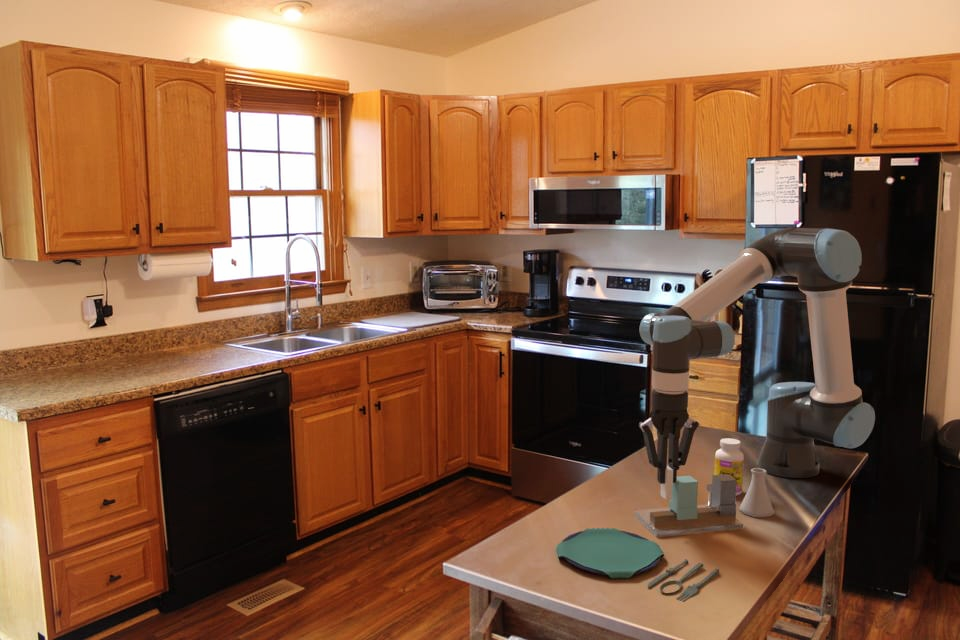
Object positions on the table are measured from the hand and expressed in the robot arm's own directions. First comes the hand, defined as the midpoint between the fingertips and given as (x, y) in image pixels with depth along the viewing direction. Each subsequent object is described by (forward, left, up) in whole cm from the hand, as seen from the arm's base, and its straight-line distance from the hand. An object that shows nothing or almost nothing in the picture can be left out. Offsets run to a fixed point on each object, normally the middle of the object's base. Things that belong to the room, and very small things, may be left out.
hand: (666, 497), depth 173 cm
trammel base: (-6, -2, -7) cm, 10 cm away
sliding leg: (-4, -2, -6) cm, 7 cm away
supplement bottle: (-24, -17, -7) cm, 31 cm away
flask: (-24, -4, -8) cm, 26 cm away
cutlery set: (+14, +14, -8) cm, 21 cm away
